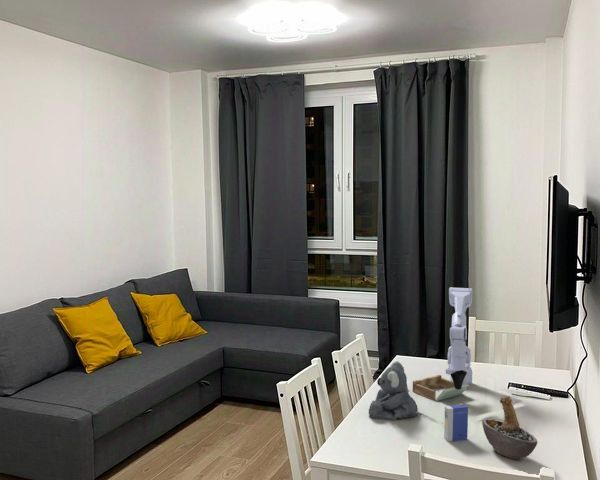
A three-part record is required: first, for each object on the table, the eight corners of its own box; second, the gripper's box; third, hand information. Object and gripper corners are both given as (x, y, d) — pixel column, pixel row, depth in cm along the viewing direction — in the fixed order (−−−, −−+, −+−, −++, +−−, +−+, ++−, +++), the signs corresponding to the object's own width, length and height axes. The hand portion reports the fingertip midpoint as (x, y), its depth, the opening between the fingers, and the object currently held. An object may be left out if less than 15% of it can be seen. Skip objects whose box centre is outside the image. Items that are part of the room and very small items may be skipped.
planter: (481, 442, 206) (483, 385, 204) (533, 448, 201) (535, 390, 199) (481, 461, 191) (483, 400, 190) (537, 468, 187) (539, 406, 185)
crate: (439, 388, 262) (439, 374, 261) (460, 395, 252) (460, 382, 251) (412, 394, 253) (412, 381, 252) (433, 403, 243) (433, 389, 242)
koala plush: (376, 403, 243) (377, 356, 242) (420, 408, 237) (421, 360, 236) (366, 418, 227) (367, 368, 225) (414, 425, 221) (415, 373, 219)
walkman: (463, 436, 211) (464, 403, 210) (467, 439, 208) (468, 406, 207) (443, 438, 209) (443, 405, 208) (447, 441, 206) (447, 408, 205)
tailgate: (459, 393, 251) (467, 383, 247) (460, 395, 250) (468, 385, 246) (435, 399, 243) (443, 389, 239) (436, 401, 243) (445, 391, 238)
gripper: (459, 351, 249) (459, 383, 250) (439, 356, 239) (439, 390, 240) (474, 354, 244) (474, 387, 244) (454, 360, 234) (454, 394, 235)
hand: (457, 388), depth 242 cm, fingers closed, pressing on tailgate
